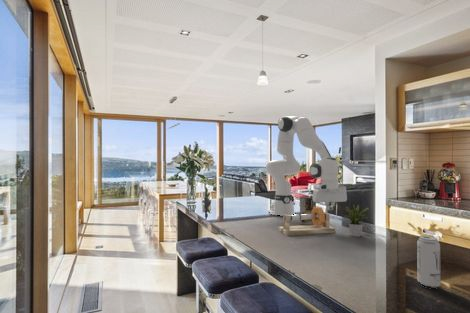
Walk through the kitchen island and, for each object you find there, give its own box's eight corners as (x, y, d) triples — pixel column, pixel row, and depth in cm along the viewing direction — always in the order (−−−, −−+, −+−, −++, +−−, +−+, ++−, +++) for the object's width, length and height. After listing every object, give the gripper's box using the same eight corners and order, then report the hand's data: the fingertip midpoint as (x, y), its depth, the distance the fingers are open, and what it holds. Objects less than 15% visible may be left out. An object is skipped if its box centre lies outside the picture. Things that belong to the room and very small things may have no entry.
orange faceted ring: (311, 223, 163) (311, 205, 163) (315, 223, 163) (315, 205, 163) (320, 227, 153) (320, 208, 153) (324, 227, 154) (324, 208, 154)
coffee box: (314, 222, 178) (314, 196, 178) (316, 224, 172) (316, 198, 172) (299, 222, 179) (299, 196, 179) (301, 224, 173) (300, 197, 173)
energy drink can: (436, 291, 86) (435, 241, 86) (414, 284, 90) (413, 237, 91) (443, 286, 89) (443, 238, 89) (422, 279, 94) (421, 234, 94)
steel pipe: (283, 220, 155) (283, 214, 155) (325, 217, 161) (325, 212, 161) (285, 221, 152) (285, 215, 152) (329, 219, 158) (329, 213, 158)
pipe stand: (278, 230, 159) (278, 213, 159) (323, 227, 166) (323, 210, 166) (287, 235, 147) (287, 217, 147) (335, 232, 154) (335, 214, 154)
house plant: (375, 240, 139) (375, 207, 139) (345, 238, 141) (345, 206, 141) (368, 233, 153) (368, 202, 153) (341, 231, 155) (340, 201, 155)
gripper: (342, 184, 166) (342, 208, 166) (311, 185, 161) (311, 209, 161) (349, 185, 160) (349, 210, 160) (316, 186, 155) (316, 211, 155)
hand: (329, 209), depth 160 cm, fingers closed
